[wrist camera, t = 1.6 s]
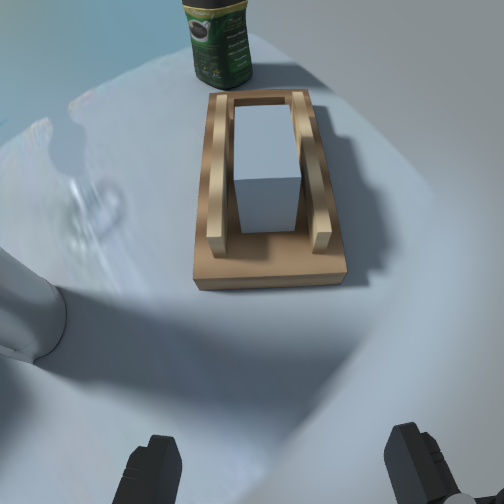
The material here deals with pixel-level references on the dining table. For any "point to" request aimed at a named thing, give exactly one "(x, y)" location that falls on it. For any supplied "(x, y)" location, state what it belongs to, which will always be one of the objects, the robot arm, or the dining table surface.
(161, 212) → the dining table surface
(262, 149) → the block
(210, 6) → the coffee jar
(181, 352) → the dining table surface
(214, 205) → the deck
